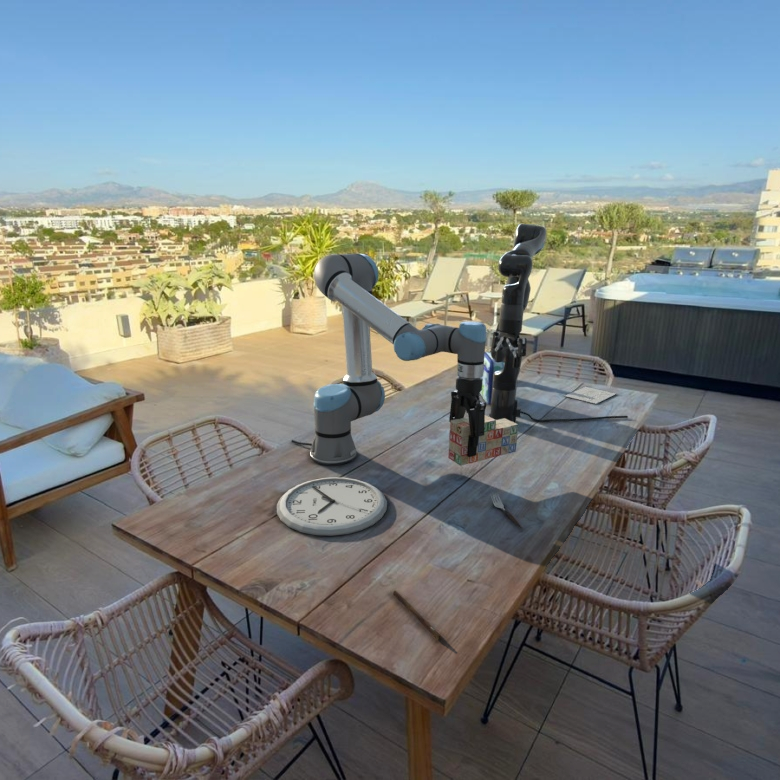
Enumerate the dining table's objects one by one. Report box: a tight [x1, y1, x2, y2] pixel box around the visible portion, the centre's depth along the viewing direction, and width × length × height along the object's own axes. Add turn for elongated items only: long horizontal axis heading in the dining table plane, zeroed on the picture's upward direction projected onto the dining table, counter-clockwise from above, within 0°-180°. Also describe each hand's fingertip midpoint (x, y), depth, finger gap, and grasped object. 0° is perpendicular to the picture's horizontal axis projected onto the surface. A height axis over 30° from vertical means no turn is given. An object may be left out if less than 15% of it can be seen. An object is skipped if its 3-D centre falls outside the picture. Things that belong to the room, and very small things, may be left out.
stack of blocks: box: [448, 414, 519, 467], centre depth 158 cm, size 21×6×12 cm, turn 119°
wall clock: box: [276, 476, 388, 537], centre depth 142 cm, size 30×2×30 cm
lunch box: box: [479, 351, 505, 406], centre depth 230 cm, size 26×11×21 cm, turn 179°
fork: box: [489, 492, 523, 529], centre depth 139 cm, size 3×16×2 cm, turn 15°
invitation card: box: [564, 386, 616, 405], centre depth 242 cm, size 21×1×15 cm
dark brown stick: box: [392, 590, 441, 641], centre depth 102 cm, size 15×1×1 cm, turn 34°
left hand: (464, 451), depth 155 cm, fingers closed on stack of blocks, 6 cm apart
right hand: (506, 365), depth 177 cm, fingers open, 8 cm apart
